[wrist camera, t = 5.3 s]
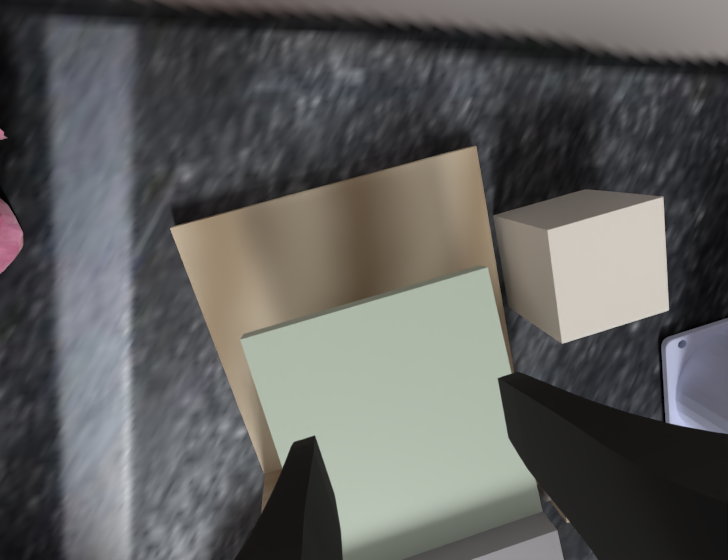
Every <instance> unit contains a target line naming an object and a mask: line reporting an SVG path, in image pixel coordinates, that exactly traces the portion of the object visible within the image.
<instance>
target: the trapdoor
mask: <svg viewBox="0 0 728 560" xmlns="http://www.w3.org/2000/svg"><path fill="white" fill-rule="evenodd" d="M240 341H241V344H242V347H243V350H244V353H245V356H246V359H247V362H248V365H249V368H250V371H251V374H252V378H253V381H254V384H255V387H256V390H257V393H258V396H259V399H260V402H261V405H262V408H263V411H264V414H265V417H266V420H267V423H268V426H269V429H270V432H271V435H272V438H273V441H274V444H275V447H276V450H277V453H278V456H279V459H280V462H281V465H282V468H283V465H284V463H285V460H286V458H287V455H288V453H289V450H290V447H291V445H292V444H293V442H295V441H298V440H302V439H305V438H308V437H311V436H314V435H315V437H316V440H317V443H318V446H319V449H320V452H321V455H322V458H323V461H324V464H325V467H326V470H327V473H328V476H329V479H330V482H331V485H332V488H333V491H334V494H335V499H336V504H337V510H338V516H339V522H340V528H341V538H342V554H343V560H564V559H563V555H562V550H561V545H560V541H559V536H558V532H557V529H556V528H555V527H554V526H553V524H552V523H551V522H550V520H549V519H548V518H547V517H546V515H545V514H544V513H543V512H542V507H541V503H540V498H539V494H538V489H537V485H536V480H535V478H534V477H533V475H532V474H531V473H530V472H529V470H528V469H527V468H526V466H525V464H524V463H523V461H522V460H521V458H520V456H519V455H518V453H517V452H516V450H515V448H514V447H513V445H512V443H511V442H510V440H509V438H508V433H507V428H506V422H505V417H504V411H503V406H502V400H501V395H500V389H499V384H498V378H499V377H503V376H506V375H509V374H512V373H511V369H510V364H509V360H508V355H507V351H506V346H505V342H504V338H503V333H502V329H501V324H500V320H499V315H498V311H497V306H496V302H495V297H494V293H493V288H492V284H491V280H490V275H489V271H488V267H485V266H481V265H478V266H475V267H471V268H468V269H464V270H461V271H458V272H454V273H451V274H447V275H444V276H440V277H437V278H434V279H430V280H427V281H423V282H420V283H416V284H413V285H409V286H406V287H403V288H399V289H396V290H392V291H389V292H385V293H382V294H379V295H375V296H372V297H368V298H365V299H361V300H358V301H355V302H351V303H348V304H344V305H341V306H337V307H334V308H331V309H327V310H324V311H320V312H317V313H313V314H310V315H306V316H303V317H300V318H296V319H293V320H289V321H286V322H282V323H279V324H276V325H272V326H269V327H265V328H262V329H258V330H255V331H252V332H248V333H245V334H243V335H242V337H241V339H240Z"/></svg>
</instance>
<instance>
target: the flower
mask: <svg viewBox="0 0 728 560" xmlns="http://www.w3.org/2000/svg"><path fill="white" fill-rule="evenodd" d="M5 138H7V137H6V136H5V135H4V132H3V131H2V130H1V129H0V140H2V139H5ZM22 247H23V231H22V229H21V227H20V225H19V223H18V221H17V219H16V217H15V216H14V214H13V212H12V211H11V209H10V208H9V206H8V204H6V203H5V202H4V201H3V200H2V199H1V198H0V273H1V272H3V271H4V270H5V269H6V268H7V267H8V266H9V264H10V263H11V262H12V261H13V260H14V259H15V257H16V256H17V255H18V254H19V252H20V250H21V248H22Z"/></svg>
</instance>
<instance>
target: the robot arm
mask: <svg viewBox="0 0 728 560" xmlns="http://www.w3.org/2000/svg"><path fill="white" fill-rule="evenodd" d="M679 342H680V343H679ZM678 343H679V345H678ZM661 351H662V368H663V386H664V403H665V420H666V422H661V421H657V420H654V419H650V418H646V417H642V416H638V415H634V414H631V413H627V412H624V411H621V410H618V409H615V408H612V407H609V406H606V405H602V404H599V403H597V402H594V401H591V400H588V399H585V398H583V397H580V396H577V395H575V394H572V393H570V392H567V391H565V390H562V389H560V388H557V387H555V386H552V385H550V384H548V383H545V382H543V381H540V380H538V379H535V378H533V377H530V376H528V375H525V374H523V373H520V372H515V373H512V374H509V375H506V376H503V377H499V378H498V384H499V389H500V395H501V400H502V406H503V411H504V417H505V422H506V428H507V433H508V438H509V440H510V442H511V443H512V445H513V447H514V448H515V450H516V452H517V453H518V455H519V456H520V458H521V460H522V461H523V463H524V464H525V466H526V468H527V469H528V470H529V472H530V473H531V474H532V475H533V477H534V478H535V479H536V481H537V482H538V483H539V484H540V486H541V487H542V488H543V489H544V491H545V492H546V493H547V494H548V496H549V497H550V498H551V499H552V501H553V502H554V503H555V504H556V505H557V507H558V508H559V509H560V510H561V512H562V513H563V514H564V515H565V517H566V518H567V519H568V520H569V522H570V523H571V524H572V525H573V527H574V528H575V529H576V530H577V532H578V533H579V534H580V535H581V536H582V538H583V539H584V541H585V542H586V543H587V545H588V546H589V547H590V549H591V550H592V551H593V553H594V554H595V556H596V557H597V559H598V560H728V318H726V319H723V320H720V321H716V322H713V323H710V324H707V325H704V326H701V327H697V328H694V329H691V330H688V331H685V332H682V333H678V334H675V335H672V336H669V337H667V338H665V339H664V340H663V342H662V345H661ZM235 560H343V554H342V538H341V528H340V522H339V516H338V510H337V504H336V499H335V494H334V491H333V488H332V485H331V482H330V479H329V476H328V473H327V470H326V467H325V464H324V461H323V458H322V455H321V452H320V449H319V446H318V443H317V440H316V437H315V435H314V436H311V437H308V438H305V439H302V440H298V441H295V442H293V444H292V445H291V447H290V450H289V453H288V455H287V458H286V460H285V463H284V465H283V468H282V470H281V473H280V475H279V477H278V480H277V482H276V484H275V486H274V488H273V491H272V493H271V495H270V497H269V499H268V501H267V503H266V506H265V507H264V509H263V511H262V513H261V515H260V517H259V519H258V521H257V523H256V524H255V526H254V528H253V530H252V532H251V534H250V535H249V537H248V539H247V540H246V542H245V544H244V545H243V547H242V549H241V550H240V552H239V553H238V555H237V557H236V558H235Z"/></svg>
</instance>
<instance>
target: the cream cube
mask: <svg viewBox="0 0 728 560" xmlns="http://www.w3.org/2000/svg"><path fill="white" fill-rule="evenodd" d="M493 218H494V224H495V230H496V236H497V242H498V248H499V254H500V260H501V266H502V272H503V278H504V284H505V290H506V296H507V302H508V307H509V308H510V309H512V310H513V311H515V312H516V313H518V314H519V315H521V316H522V317H524V318H525V319H527V320H528V321H529V322H531V323H532V324H534V325H535V326H537V327H538V328H540V329H541V330H543V331H544V332H546V333H547V334H549V335H550V336H551V337H553V338H554V339H556V340H557V341H559V342H560V343H562V344H563V343H566V342H569V341H572V340H575V339H579V338H582V337H585V336H588V335H592V334H595V333H598V332H601V331H604V330H608V329H611V328H614V327H617V326H620V325H624V324H627V323H630V322H633V321H637V320H640V319H643V318H646V317H649V316H653V315H656V314H659V313H662V312H665V311H669V301H668V281H667V261H666V241H665V221H664V201H663V197H660V196H650V195H640V194H630V193H620V192H609V191H599V190H589V189H585V190H581V191H578V192H574V193H570V194H567V195H563V196H560V197H556V198H553V199H549V200H546V201H542V202H539V203H535V204H532V205H528V206H525V207H521V208H517V209H514V210H510V211H507V212H503V213H500V214H496V215H493Z"/></svg>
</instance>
